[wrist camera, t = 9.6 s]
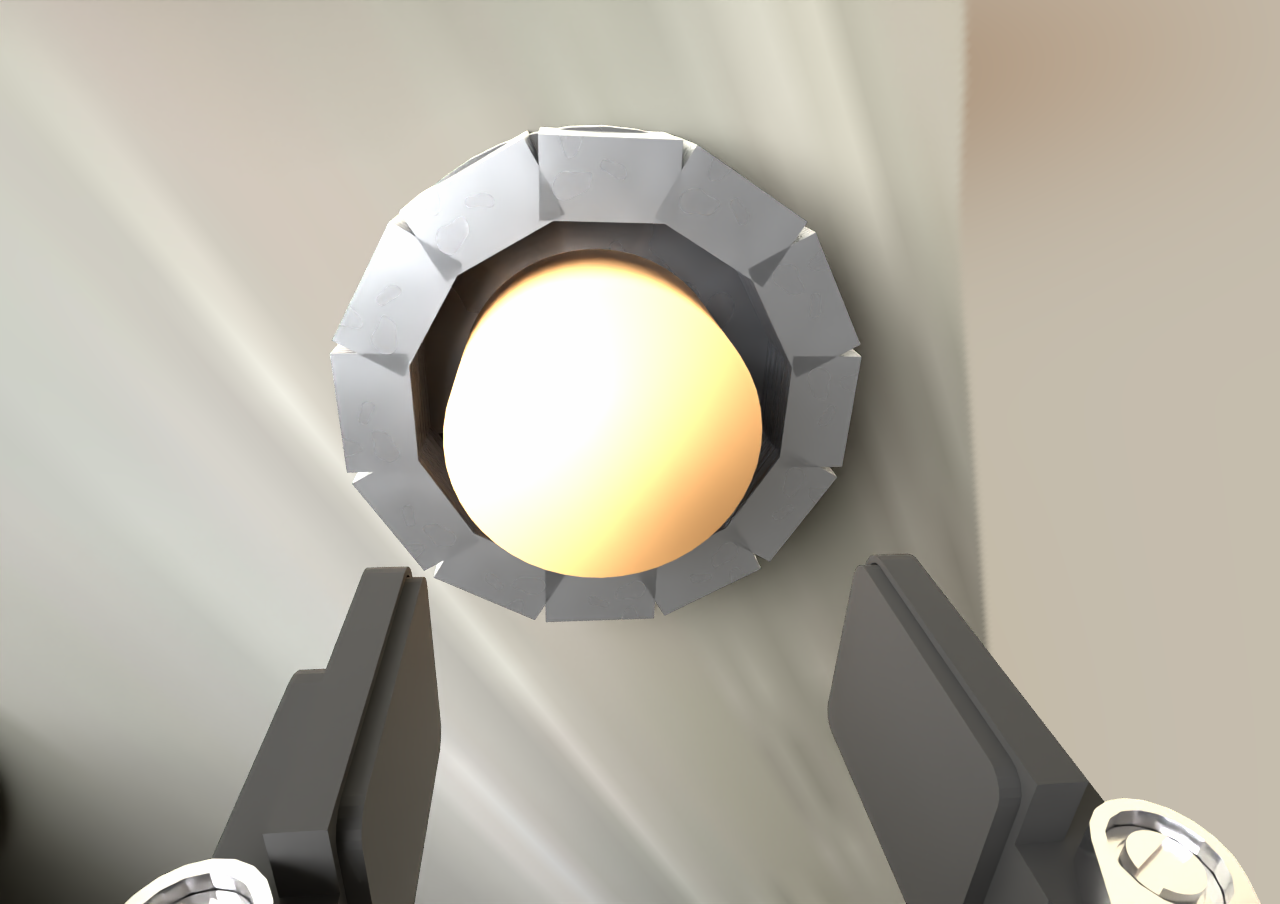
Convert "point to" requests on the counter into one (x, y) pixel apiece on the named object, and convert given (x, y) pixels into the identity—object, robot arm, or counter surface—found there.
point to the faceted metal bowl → (576, 220)
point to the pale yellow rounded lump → (600, 417)
